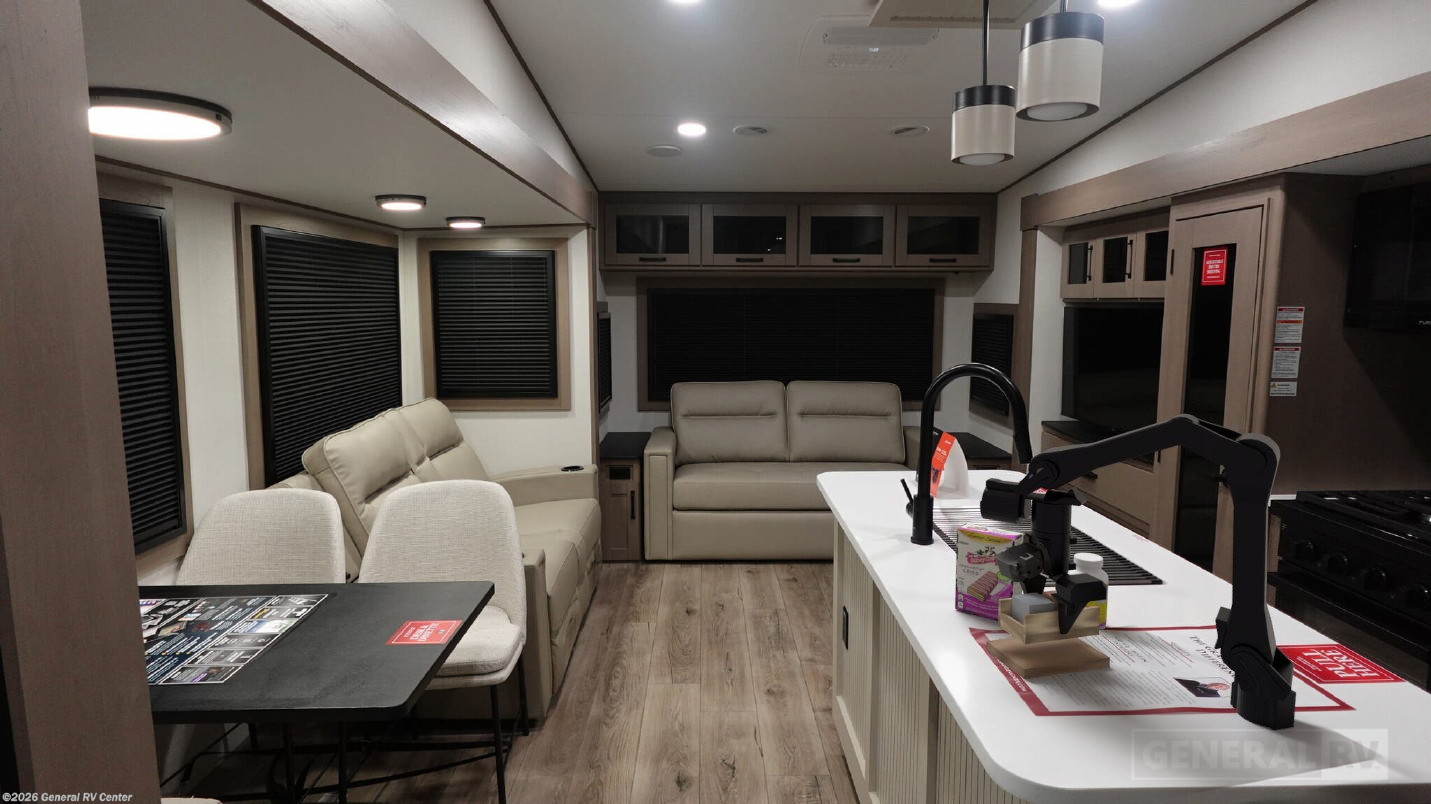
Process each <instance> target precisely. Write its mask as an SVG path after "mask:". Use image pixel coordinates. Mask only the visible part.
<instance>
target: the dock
mask: <svg viewBox="0 0 1431 804" xmlns="http://www.w3.org/2000/svg"><path fill="white" fill-rule="evenodd" d="M985 651H986V652H988V653H989V654H991V655H992V656H993V657H995V659H997V660H999V661H1000V662H1001V663H1003V664H1004V665H1005V666H1007V667H1008V668H1009V669H1010V670H1012V671H1013V672H1014V673H1015V674H1017V675H1018V676H1019V677H1021V678H1022V679H1024V680H1027V679H1028V680H1029V679H1034V678H1041V677H1048V676H1057V675H1063V674H1069V673H1077V672H1085V671H1092V670H1098V669H1104V668H1107V669H1108V668H1110V665H1111V657H1110V656H1108V655H1107V654H1105V653H1104V652H1102V651H1100V650H1098V649H1097V648H1095V647H1094V646H1092V645H1090V644H1089V643H1087V642H1085V641H1083V640H1082V639H1080V637H1079V638H1071V639H1063V640H1056V641H1048V642H1040V643H1033V644H1024V643H1022V642H1021V641H1019V640H1018V639H1016V638H1015V637H1009V638H1001V639H992V640H986V648H985Z"/></svg>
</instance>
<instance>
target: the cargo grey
mask: <svg viewBox="0 0 1431 804" xmlns="http://www.w3.org/2000/svg"><path fill="white" fill-rule="evenodd" d="M1052 611H1054V602H1052V601H1051V600H1049V599H1047V598H1045V597H1043V596H1042V595H1040V594H1038V593H1028V594H1023V593H1022V594H1019V595H1012V618H1013V619H1015V620H1016V621H1018V622H1019V623H1021V624H1022V625H1024V615H1027V614H1036V613H1044V612H1052Z"/></svg>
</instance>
